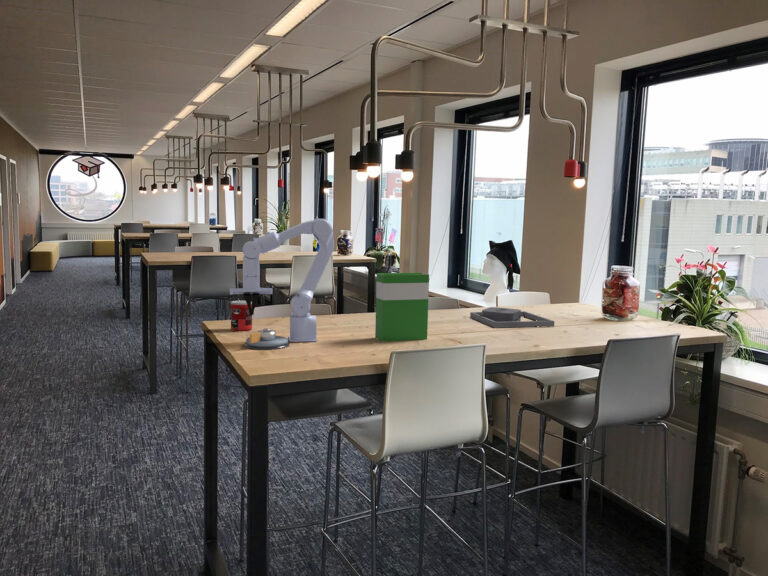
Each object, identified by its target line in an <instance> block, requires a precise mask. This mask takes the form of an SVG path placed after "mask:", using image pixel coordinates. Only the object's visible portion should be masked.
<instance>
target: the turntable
mask: <svg viewBox="0 0 768 576" xmlns="http://www.w3.org/2000/svg"><path fill="white" fill-rule="evenodd" d="M288 342H289V339H288V337H285V336H280V335H276V340H273V341H260V333H259V332H258V331H257V332H254V333H249V337H248V338H246V340H245V343H246V344H247V345H249V346H254V347H277V346H283V345H286V344H288Z"/></svg>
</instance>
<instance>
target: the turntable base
mask: <svg viewBox="0 0 768 576" xmlns="http://www.w3.org/2000/svg"><path fill="white" fill-rule="evenodd" d="M244 347H245V348H247V349H250V350H258V351H272V350H273V349H274V350H280V349H281V348H282V349H286V348H287V347H290V341H288V344H286V345H283V346H277V347H254V346H249V345H247V344H246V342H244ZM285 347H286V348H285Z"/></svg>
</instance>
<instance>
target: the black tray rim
mask: <svg viewBox="0 0 768 576" xmlns="http://www.w3.org/2000/svg"><path fill="white" fill-rule="evenodd" d="M521 316H525V317H524V318H526V317H528V318H531V319H534V320H537V321H534V320H531V319H530V320H524V321H523V320H522V321H514V322H495V321H493V320H490V319H488V318H486V317H483V316H482V311H470V315H469V318H470V317H471V318H470V319H473V320H475V321H477V322H480V323H482V324H483V325H484V324H485V325H487V326H489V327H491V328H493V329H508V328H509V329H511V328H512V327H519V328H535V327H534V326H554V327H555V320H554V319H548V318H546V317H544V316H541V315H537V314H534V313H531V312H528V311H522V310H521ZM528 318H527V319H528Z"/></svg>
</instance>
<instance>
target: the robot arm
mask: <svg viewBox="0 0 768 576" xmlns="http://www.w3.org/2000/svg"><path fill="white" fill-rule="evenodd" d="M303 234H304V235H305V234H306V235H313V236H314V237H315V238H316V241H317V243H318V245H319V248H318V251H317V252H316V255H315V257H314V259H313V261H312V263H311V265H310V268H309V269H308V271H307V274H306V276H305V279H304V281H302V282H303V283H302V284H301V287H300V288H298V290H297V293H296V294H295V295H294V296H293V297H292V298H291V299H290V302H289V304H290V305H289V306H290V308H291V310H292V311H291V313H289V336H287V339H288V342H289V343H297V342H298V343H299V342H303V343H305V342H317V341H318V340H317V335H318V334H317V333H318V331H317V329H318V326H317V315H311V313H310V311H311V306H312V305H311V302H312V300H313V297H314V293H315V290H316V288H317V287H318V284H319V282H320V280H321V278H322V276H323V274H324V271H325V270H326V267H327V265H328V263H329V262H330V259H331V256H332V254H333V252H334V250H335V240H334V229H333V227H332V225H331V223H330V221H329V220H327V219H325V218H314V219H313V220H308V221H303V222H301V223H298V224H297V225H293V226H292V227H290V228H288V229H285V230H283V231H280V232H279V233H277V232H275V231H271V232H270V231H267V232H265V234H263V235H262V236H260V237H257V238H256V237H253V238H252V240H253V241H252V240H250V241H249V240H248V241H247V242H245V243H244V244H243V246H242V248H241V249H242V250H241V251H242V253H243V258H242V261H243V262H242V287H237V288H236V287H235V288H234V287H232V288H231V287H230V288H229V295H243V298H244V301H246V303H247V306H248V309H249V315H252V316H254V315H255V314H254V313H255V308H256V305H257V303H258V300H259V299H260V295H273V294H274V293H273V287H272V288H271V287H261V282H260V281H261V277H260V276H261V273H260V271H261V268H260V264H261V263H260V255H261V254H262V255H263V254H265V253H266V254H267V253H269V252H271V251H273V250H276V249H278V248H280V247H281V244H282V243H283V242H284V241H287V240H290V239H293V238H295V237H298V236H300V235H303ZM251 302H252V308H251Z"/></svg>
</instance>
